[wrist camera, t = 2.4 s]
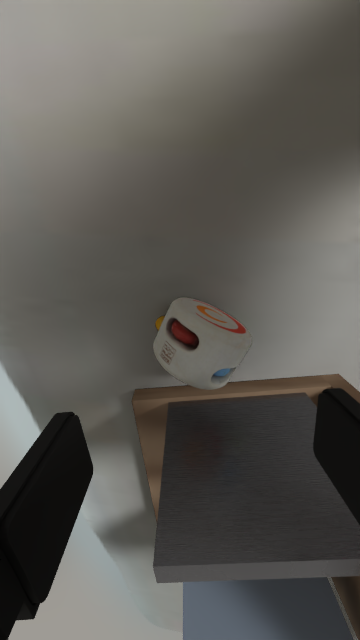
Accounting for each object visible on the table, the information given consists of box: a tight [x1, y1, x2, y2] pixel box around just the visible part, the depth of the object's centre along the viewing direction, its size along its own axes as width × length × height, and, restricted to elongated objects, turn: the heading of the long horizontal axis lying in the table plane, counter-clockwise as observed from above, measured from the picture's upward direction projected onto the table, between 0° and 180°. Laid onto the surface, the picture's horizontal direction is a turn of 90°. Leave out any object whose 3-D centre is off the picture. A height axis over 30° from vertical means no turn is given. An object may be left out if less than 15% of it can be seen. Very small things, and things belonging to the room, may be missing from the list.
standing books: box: [183, 577, 353, 640], centre depth 19 cm, size 5×11×10 cm, turn 96°
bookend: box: [153, 392, 360, 583], centre depth 14 cm, size 1×11×10 cm, turn 96°
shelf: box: [132, 374, 360, 640], centre depth 15 cm, size 18×18×16 cm
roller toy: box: [153, 297, 252, 390], centre depth 15 cm, size 4×6×6 cm
